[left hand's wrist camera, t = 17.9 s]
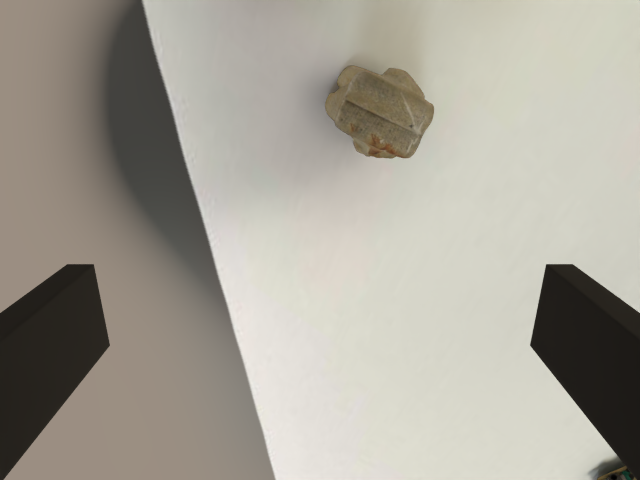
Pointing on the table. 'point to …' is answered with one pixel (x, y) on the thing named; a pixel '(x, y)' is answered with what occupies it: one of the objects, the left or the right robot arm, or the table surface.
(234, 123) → the table surface
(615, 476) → the spray gun
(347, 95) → the sculpture
